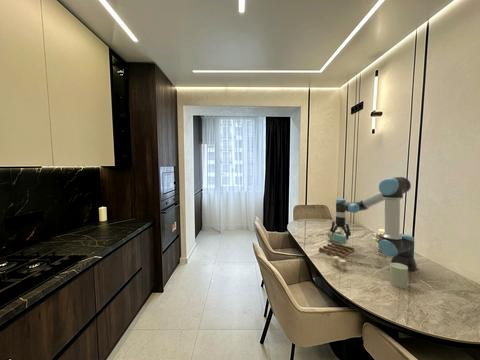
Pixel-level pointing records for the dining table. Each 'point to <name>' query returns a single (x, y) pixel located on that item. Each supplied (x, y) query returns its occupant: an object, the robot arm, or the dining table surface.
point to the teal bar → (339, 238)
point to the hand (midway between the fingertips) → (340, 241)
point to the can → (399, 275)
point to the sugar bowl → (334, 232)
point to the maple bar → (339, 263)
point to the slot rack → (336, 250)
